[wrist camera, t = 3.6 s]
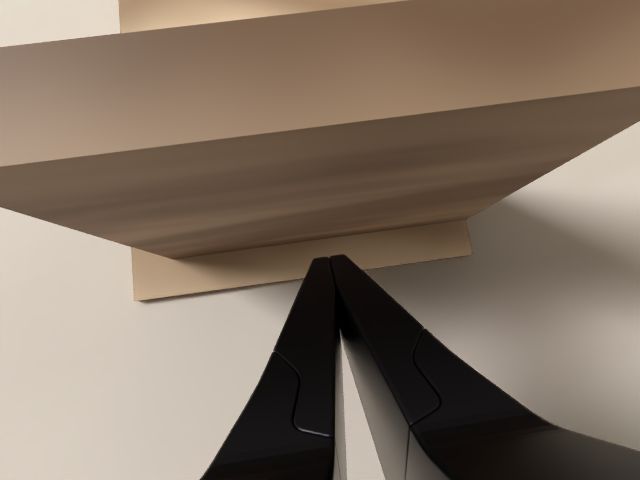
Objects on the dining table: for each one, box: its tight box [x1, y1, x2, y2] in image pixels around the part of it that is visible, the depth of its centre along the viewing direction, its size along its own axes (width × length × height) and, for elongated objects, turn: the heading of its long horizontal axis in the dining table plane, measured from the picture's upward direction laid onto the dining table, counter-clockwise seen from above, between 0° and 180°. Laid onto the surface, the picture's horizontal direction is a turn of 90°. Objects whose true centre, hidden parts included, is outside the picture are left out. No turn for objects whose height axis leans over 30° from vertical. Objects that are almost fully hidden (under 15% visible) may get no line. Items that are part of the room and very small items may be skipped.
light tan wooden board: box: [119, 0, 472, 301], centre depth 20 cm, size 18×17×1 cm
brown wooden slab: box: [0, 0, 640, 259], centre depth 13 cm, size 2×15×12 cm, turn 98°
